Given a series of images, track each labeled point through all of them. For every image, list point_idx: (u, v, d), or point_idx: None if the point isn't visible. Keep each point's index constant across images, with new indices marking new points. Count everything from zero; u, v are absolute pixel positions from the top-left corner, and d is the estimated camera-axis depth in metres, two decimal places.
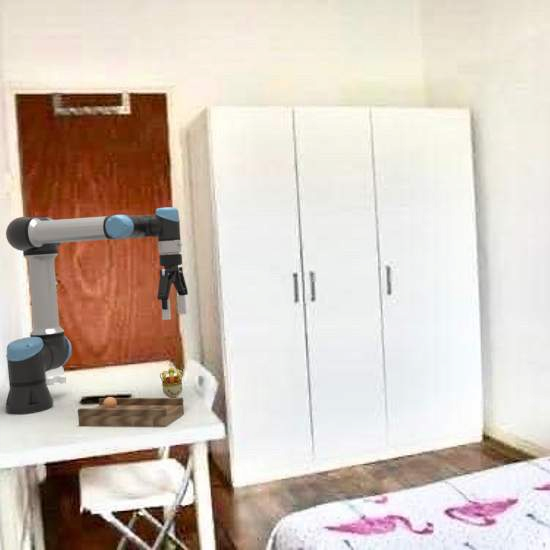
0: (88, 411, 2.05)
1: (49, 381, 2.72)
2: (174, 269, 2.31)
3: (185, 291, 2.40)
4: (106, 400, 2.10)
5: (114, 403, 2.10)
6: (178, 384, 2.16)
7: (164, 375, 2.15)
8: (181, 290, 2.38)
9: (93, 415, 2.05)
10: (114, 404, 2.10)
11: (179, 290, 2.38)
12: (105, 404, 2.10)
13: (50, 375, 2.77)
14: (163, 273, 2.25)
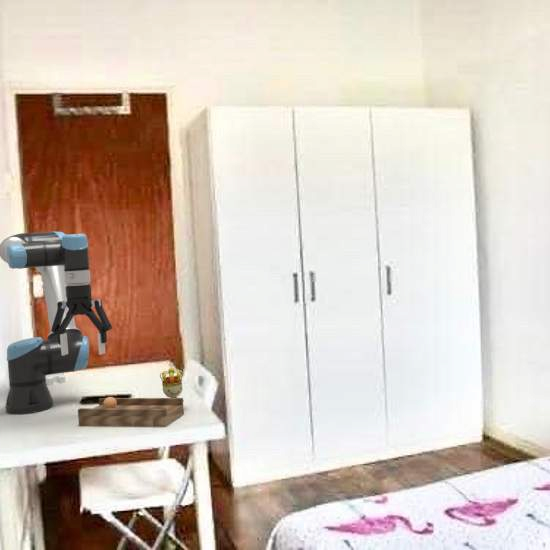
0: (88, 411, 2.05)
1: (48, 381, 2.72)
2: (77, 302, 2.11)
3: (105, 329, 2.09)
4: (106, 400, 2.10)
5: (114, 403, 2.10)
6: (178, 384, 2.16)
7: (164, 375, 2.15)
8: None
9: (93, 415, 2.05)
10: (114, 404, 2.10)
11: None
12: (105, 404, 2.10)
13: (50, 375, 2.77)
14: None
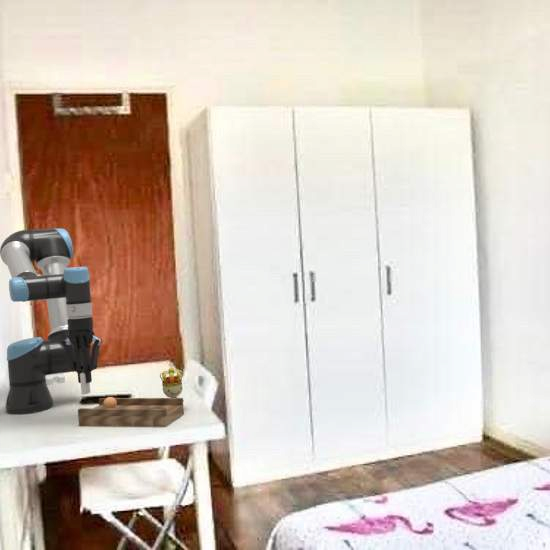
0: (88, 411, 2.05)
1: (48, 381, 2.72)
2: (79, 334, 2.11)
3: (89, 369, 2.11)
4: (106, 400, 2.10)
5: (114, 403, 2.10)
6: (178, 384, 2.16)
7: (164, 375, 2.15)
8: None
9: (93, 415, 2.05)
10: (114, 404, 2.10)
11: None
12: (105, 404, 2.10)
13: (49, 375, 2.77)
14: None
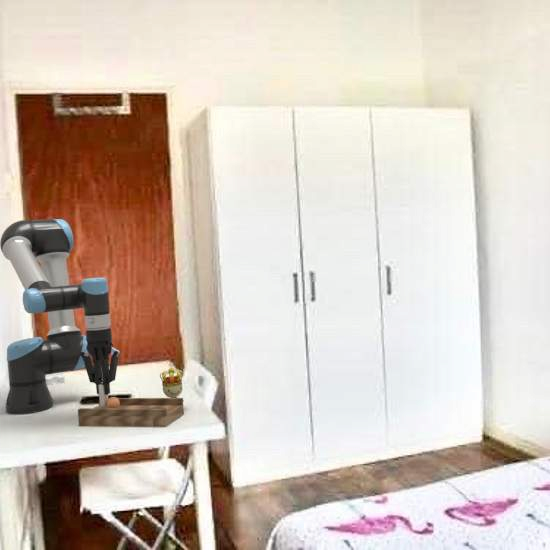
0: (88, 411, 2.05)
1: (47, 381, 2.72)
2: (97, 346, 2.09)
3: (108, 380, 2.10)
4: (111, 400, 2.09)
5: (117, 406, 2.10)
6: (178, 384, 2.16)
7: (164, 375, 2.15)
8: None
9: (93, 415, 2.05)
10: (117, 407, 2.10)
11: None
12: (109, 403, 2.09)
13: (49, 375, 2.77)
14: None
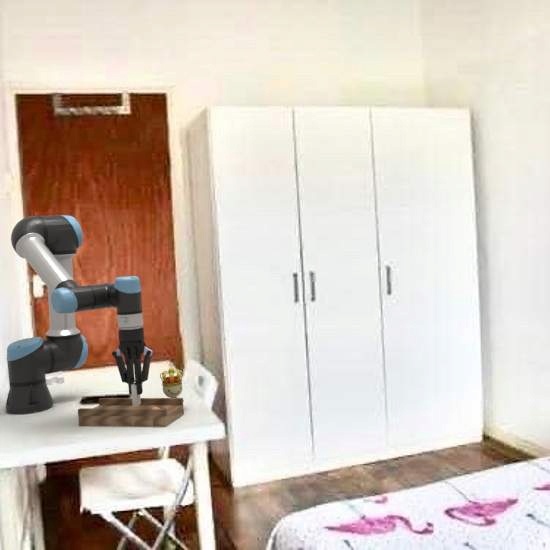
0: (88, 411, 2.05)
1: (47, 381, 2.72)
2: (130, 345, 2.07)
3: (141, 380, 2.07)
4: None
5: None
6: (178, 384, 2.16)
7: (164, 375, 2.15)
8: None
9: (93, 415, 2.05)
10: None
11: None
12: None
13: (48, 375, 2.77)
14: None
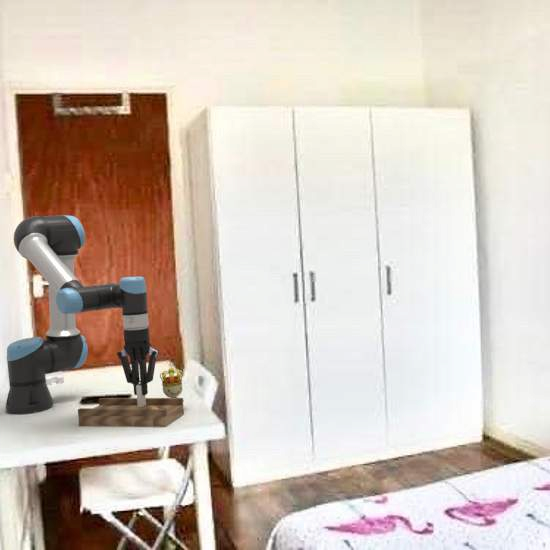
0: (88, 411, 2.05)
1: (47, 381, 2.72)
2: (135, 346, 2.07)
3: (146, 381, 2.07)
4: None
5: None
6: (178, 384, 2.16)
7: (164, 375, 2.15)
8: None
9: (93, 415, 2.05)
10: None
11: None
12: None
13: (48, 375, 2.77)
14: None
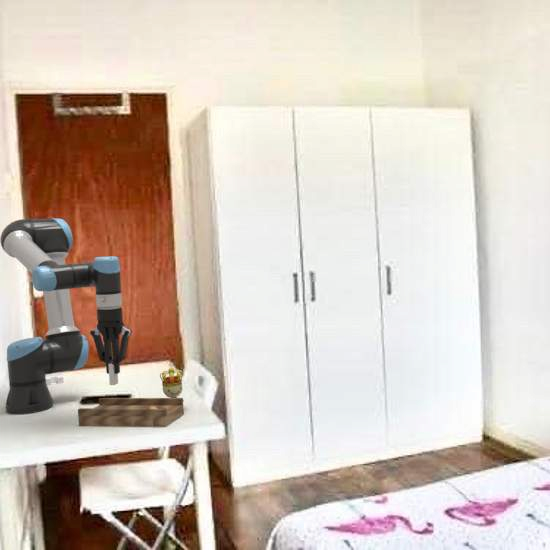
0: (88, 411, 2.05)
1: (46, 381, 2.72)
2: (108, 325, 2.08)
3: None
4: None
5: None
6: (178, 384, 2.16)
7: (164, 375, 2.15)
8: None
9: (93, 415, 2.05)
10: None
11: None
12: None
13: (47, 375, 2.77)
14: None
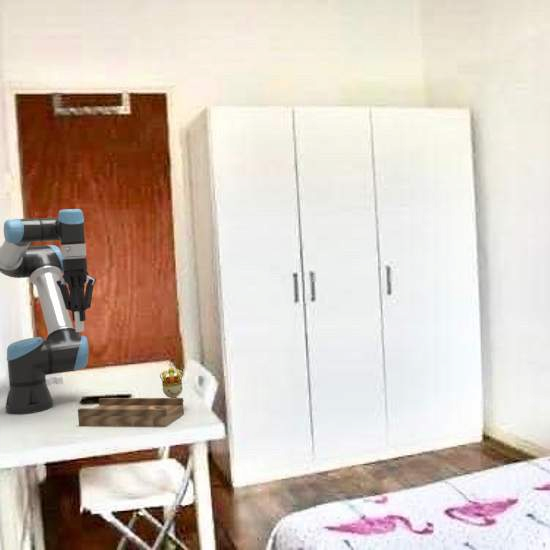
0: (88, 411, 2.05)
1: None
2: (73, 274, 2.19)
3: (83, 307, 2.19)
4: None
5: None
6: (178, 384, 2.16)
7: (164, 375, 2.15)
8: None
9: (93, 415, 2.05)
10: None
11: None
12: None
13: (47, 375, 2.76)
14: None
